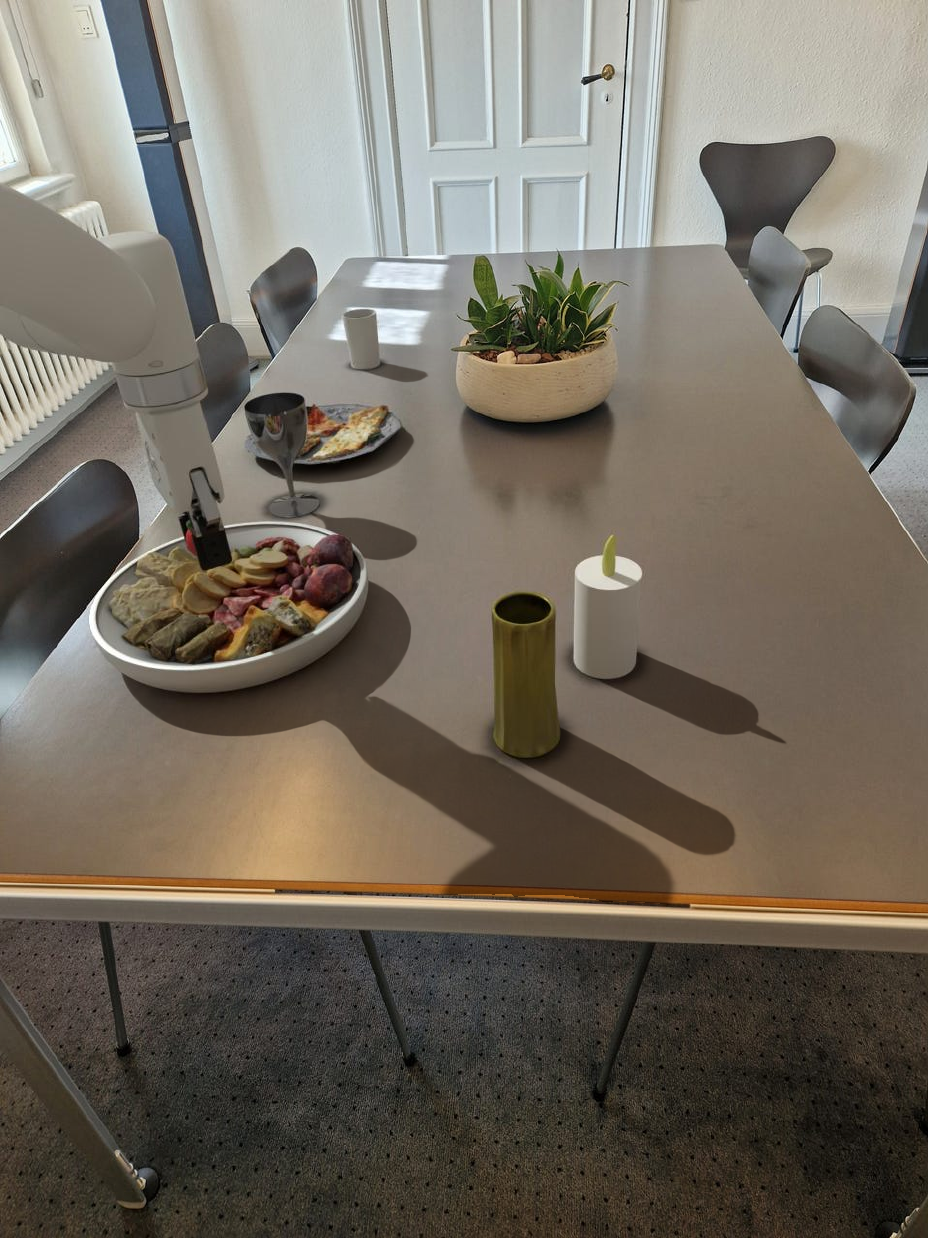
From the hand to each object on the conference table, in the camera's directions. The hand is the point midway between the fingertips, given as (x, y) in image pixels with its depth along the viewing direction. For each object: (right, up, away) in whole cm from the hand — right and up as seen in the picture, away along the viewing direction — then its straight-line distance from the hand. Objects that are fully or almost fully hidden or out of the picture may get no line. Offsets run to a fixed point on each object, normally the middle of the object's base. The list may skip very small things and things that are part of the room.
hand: (209, 554), depth 87 cm
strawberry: (0, 0, 0) cm, 1 cm away
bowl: (+1, -7, +9) cm, 12 cm away
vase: (+32, -18, -9) cm, 38 cm away
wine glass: (+2, +9, +33) cm, 34 cm away
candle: (+41, -11, 0) cm, 42 cm away
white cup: (+7, +44, +83) cm, 94 cm away
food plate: (+4, +22, +51) cm, 55 cm away
